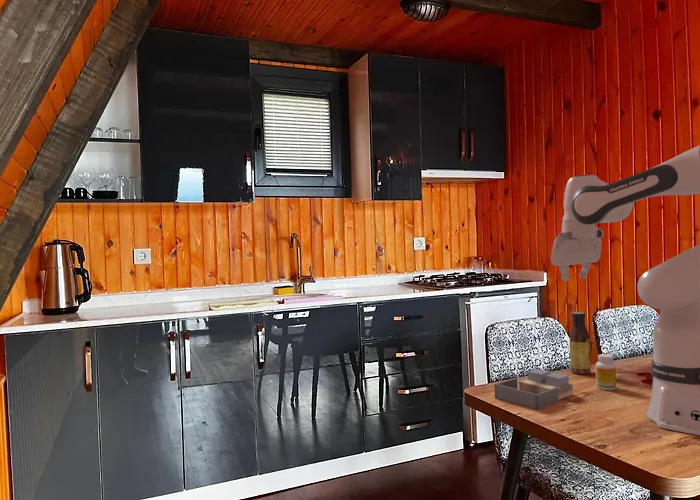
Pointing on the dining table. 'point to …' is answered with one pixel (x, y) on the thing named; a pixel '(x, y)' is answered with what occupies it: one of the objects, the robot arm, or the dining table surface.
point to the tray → (524, 395)
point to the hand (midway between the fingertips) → (574, 279)
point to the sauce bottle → (579, 345)
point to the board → (544, 388)
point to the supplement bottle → (605, 372)
